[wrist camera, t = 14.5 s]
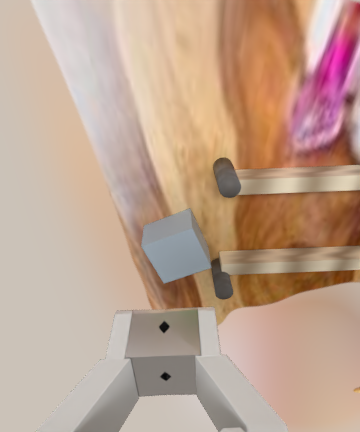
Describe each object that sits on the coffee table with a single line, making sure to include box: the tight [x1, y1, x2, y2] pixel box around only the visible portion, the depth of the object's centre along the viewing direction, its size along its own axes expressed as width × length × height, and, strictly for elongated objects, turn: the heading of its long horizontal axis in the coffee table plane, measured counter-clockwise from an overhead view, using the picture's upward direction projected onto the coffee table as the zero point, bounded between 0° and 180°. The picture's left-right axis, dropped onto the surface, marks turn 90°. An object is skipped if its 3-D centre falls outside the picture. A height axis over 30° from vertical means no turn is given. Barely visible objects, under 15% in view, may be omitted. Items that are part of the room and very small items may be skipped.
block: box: [141, 209, 212, 283], centre depth 43 cm, size 7×7×5 cm
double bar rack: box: [211, 158, 360, 299], centre depth 41 cm, size 23×18×6 cm
